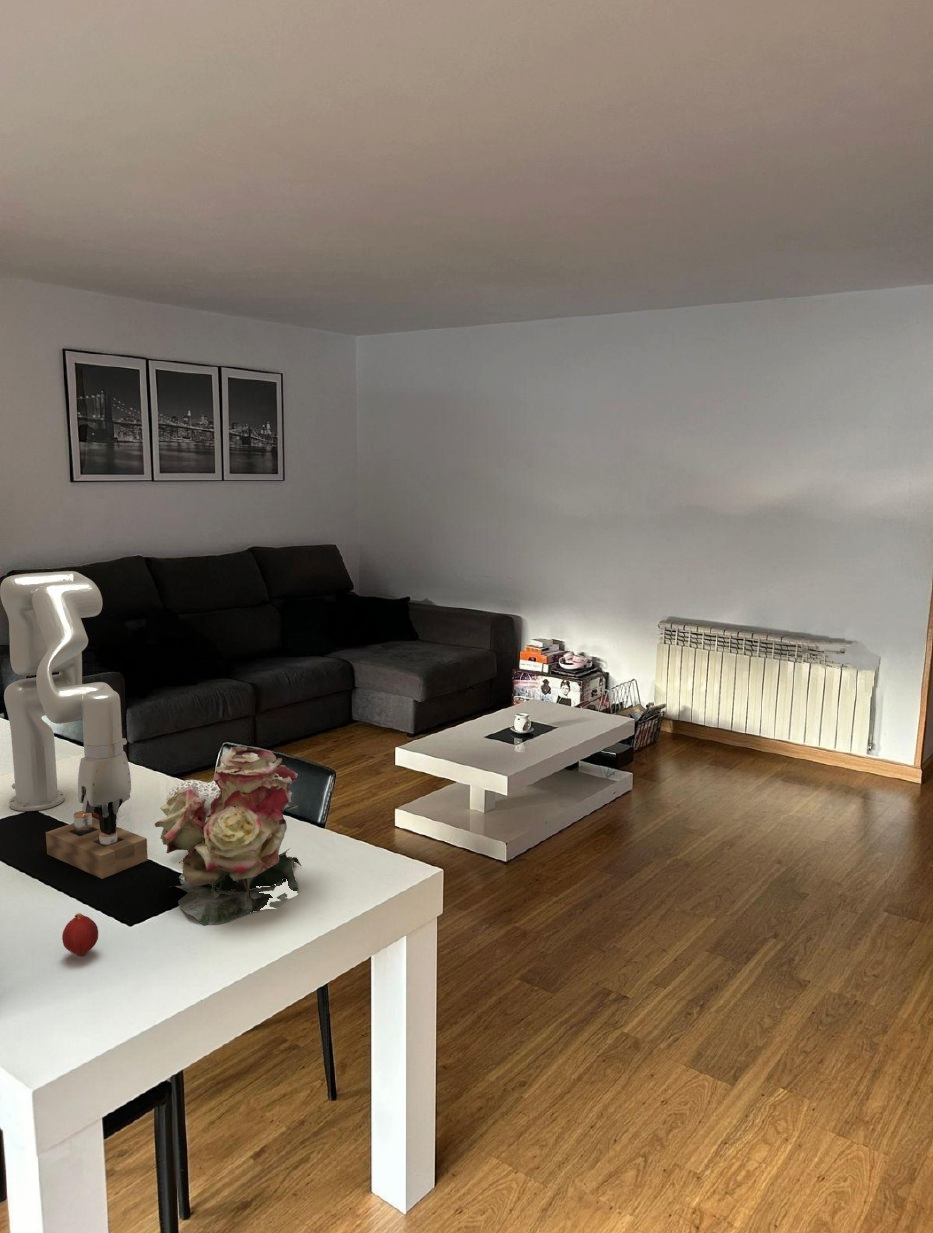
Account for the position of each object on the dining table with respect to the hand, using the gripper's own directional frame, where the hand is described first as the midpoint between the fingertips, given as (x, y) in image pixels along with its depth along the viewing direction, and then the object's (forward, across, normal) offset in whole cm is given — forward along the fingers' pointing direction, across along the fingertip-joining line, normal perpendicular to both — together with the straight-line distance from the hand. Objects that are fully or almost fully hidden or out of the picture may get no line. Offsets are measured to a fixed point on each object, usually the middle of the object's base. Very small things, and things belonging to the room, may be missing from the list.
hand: (108, 832), depth 195 cm
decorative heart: (+7, -16, +13) cm, 22 cm away
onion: (+8, +25, +28) cm, 38 cm away
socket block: (+7, 0, -5) cm, 8 cm away
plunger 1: (+3, 0, -9) cm, 10 cm away
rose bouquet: (+8, -7, +32) cm, 34 cm away
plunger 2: (+5, 0, 0) cm, 5 cm away
